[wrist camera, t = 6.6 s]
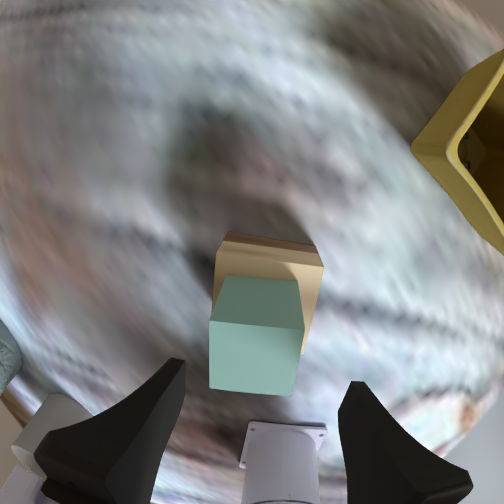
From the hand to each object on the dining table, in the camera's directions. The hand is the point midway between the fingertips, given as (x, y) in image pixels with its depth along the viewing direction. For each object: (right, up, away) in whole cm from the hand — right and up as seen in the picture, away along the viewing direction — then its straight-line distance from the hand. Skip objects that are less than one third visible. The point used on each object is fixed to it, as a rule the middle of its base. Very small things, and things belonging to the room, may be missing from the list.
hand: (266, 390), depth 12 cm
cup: (-24, -15, +18) cm, 34 cm away
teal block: (0, +3, +6) cm, 6 cm away
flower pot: (+14, +13, +6) cm, 20 cm away
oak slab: (0, +3, +8) cm, 9 cm away
